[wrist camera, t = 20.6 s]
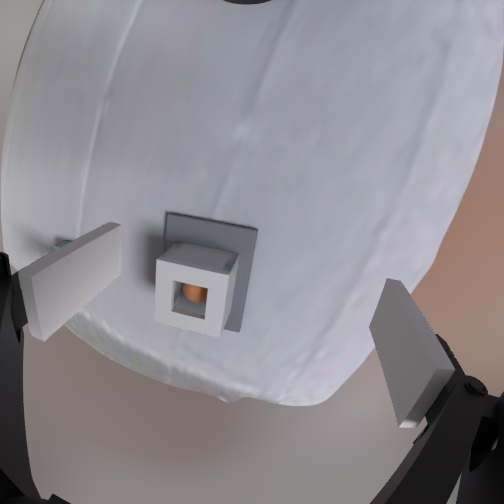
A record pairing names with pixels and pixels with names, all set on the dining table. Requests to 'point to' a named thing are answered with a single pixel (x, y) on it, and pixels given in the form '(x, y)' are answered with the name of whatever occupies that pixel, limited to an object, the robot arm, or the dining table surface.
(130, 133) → the dining table surface
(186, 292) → the button
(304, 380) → the dining table surface
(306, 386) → the dining table surface
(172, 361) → the dining table surface
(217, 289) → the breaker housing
